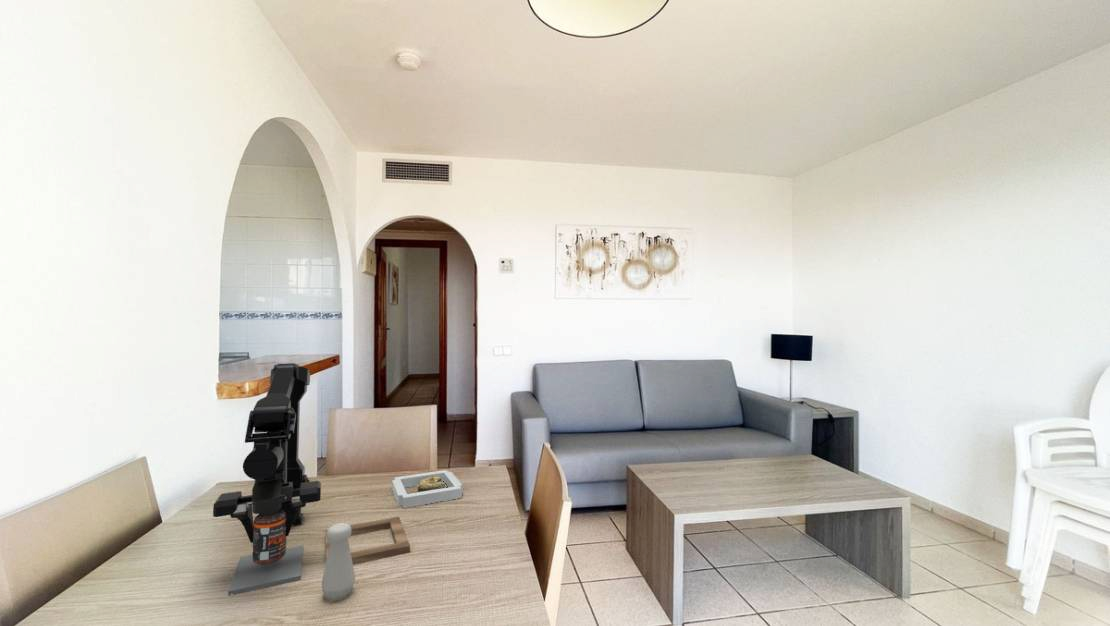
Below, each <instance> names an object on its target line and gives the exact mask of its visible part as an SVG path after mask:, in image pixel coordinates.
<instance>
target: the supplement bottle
mask: <svg viewBox="0 0 1110 626" xmlns="http://www.w3.org/2000/svg"><path fill="white" fill-rule="evenodd" d="M286 526H287V514H286V512H285V511H283V510H282V504H281V508H280V509H279V510H277V511H267V512H262V513H260V514H256V516H255V517H254V518H253V543H252V555H253V556H252V557H253V562H254V563H256V564H269V563H273V562H275V561H278V560H279V559H281V558H282V557H283V556H284V555H285V553H286V548H287V543H288V542H287V536H286V528H287V527H286Z"/></svg>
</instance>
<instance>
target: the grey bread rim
mask: <svg viewBox="0 0 1110 626" xmlns="http://www.w3.org/2000/svg"><path fill="white" fill-rule="evenodd" d="M432 476H434V477H435V476H436V477H441V479H442V480H441V481H444V482H445V483H446V484H447V486H448V488H442V489H436V490H429V491H423V492H417V491H416V492H412V493H407V491H406V489H407V488H406V487H409V488H413V487H412V486H415V487H418V486H417V485H419V482H421V481H422V480H423V479H427V478H430V477H432ZM444 482H443V483H444ZM445 483H444V484H445ZM446 484H445V485H446ZM447 486H446V487H447ZM463 489H464V488H463V484H462V483H461V481H460V480H459V479H458V477H456V475H455V474H454V473H453V472H452V471H448V470H447V469H445V470H444V469H443V470H437V471H431V472H422V473H417V474H410V475H409V474H407V475H402V476H395V477H394V479H392V480H391V491H393V492H392V494H393V496H394V499H395V501H396V504H397V506H398V507H402V509H403V510H404V509H409V507H410V508H414V506H416V507H420V506H419V505H422V506H426V505H425V504H428V505H431V504H430V503H433V504H436V503H435V502H439V503H441V502H440V501H445V500H450V501H453V500H452V499H456V500H459V499H458V498H461V499H462V496H463V495H462V494H463ZM445 502H446V501H445Z"/></svg>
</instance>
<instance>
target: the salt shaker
mask: <svg viewBox="0 0 1110 626" xmlns="http://www.w3.org/2000/svg"><path fill="white" fill-rule="evenodd" d="M350 525H351V524H349V523H346V522H340V523H339V522H338V523H335V524H332V525H331V526H329V528H327V529H328V530H327V529H326V530H327V541H329V542H330V546H329V551H328V556H327V561H326V560H325V567H324V571H323V576H322V581H321V590H322V593H323V595H324V597H325V599H326V600H329V601H332V602H336V601H340V600H343V599H346V597H347V596H349V594H350V593H351V592H352V589H353V587H354V585H355V581H356V576H355V569H354V564H352V558H351V548H350V543H349V538H351V536H352V535H351V531H352V530H351V526H350Z"/></svg>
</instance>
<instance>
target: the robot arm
mask: <svg viewBox="0 0 1110 626" xmlns="http://www.w3.org/2000/svg"><path fill="white" fill-rule="evenodd" d="M269 376H270V377H269V388H268V391H267V394H266V396H264V397H263V398H260V399H258V400H257V402H256V403H255V405H254V407H253V409H252V410H250V411H249V414H248V421H247V425H246V431H245V437H244V443H245V444H246V443H248V444H249V443H253V448H252V450H251V451H250V452H249V453H248V454H247V456H246V457H245V458H244V460H243V463H242V469H243V472H244V474H245V476H247V477H248V478H249V479H252V480H254V484H253V486H252V489H251V490H252V491H251V494H250V495H243V492H242V491H241V490H240V491H233V492H223V493H220V495H219V496H218V497H217V499H216V500H215V502H214V503H213V508H212V517H214V518H219V517H225V516H230V518H231V519H237V520H238V521H239V522H240V523H241V524H242V526H243V527H244V531H245V532H246V535H247V538H248V539H249V542H250V543H251V544H253V523H254V516H253V515H254V514H255V515H258V514H260V513H262V512H267V511H277V510H279V509H280V508H281V504H282V510H283V511H285V512H286V514H287V526H286V537H288V536H289V534H290V532H291V529H292V527H293V526H299V525H303V523H304V522H303V521H304V512H302V508H304V507H306V505H307V504H309V503H315V502H320V501H321V495H322V493H321V491H322V487H321V486H322V483H321V482H320V481H319V480H312V481H310V479H309V478H308V475H307V474H305V471H306V467H305V466H304V464H303V462H302V461H301V460H300V458H299V448H300V446H299V443H300V439H299V438H300V410H301V407H300V406H301V401H302V399H303V397H304V396H305V395H306V393H307V391H308V386H310V383H311V372H310V370H309V368H307V367H304V366H300V365H299V364H297V363H292V362H291V363H277V364H274V366H273V368H271V370H270V375H269ZM253 432H254V433H253Z"/></svg>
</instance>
